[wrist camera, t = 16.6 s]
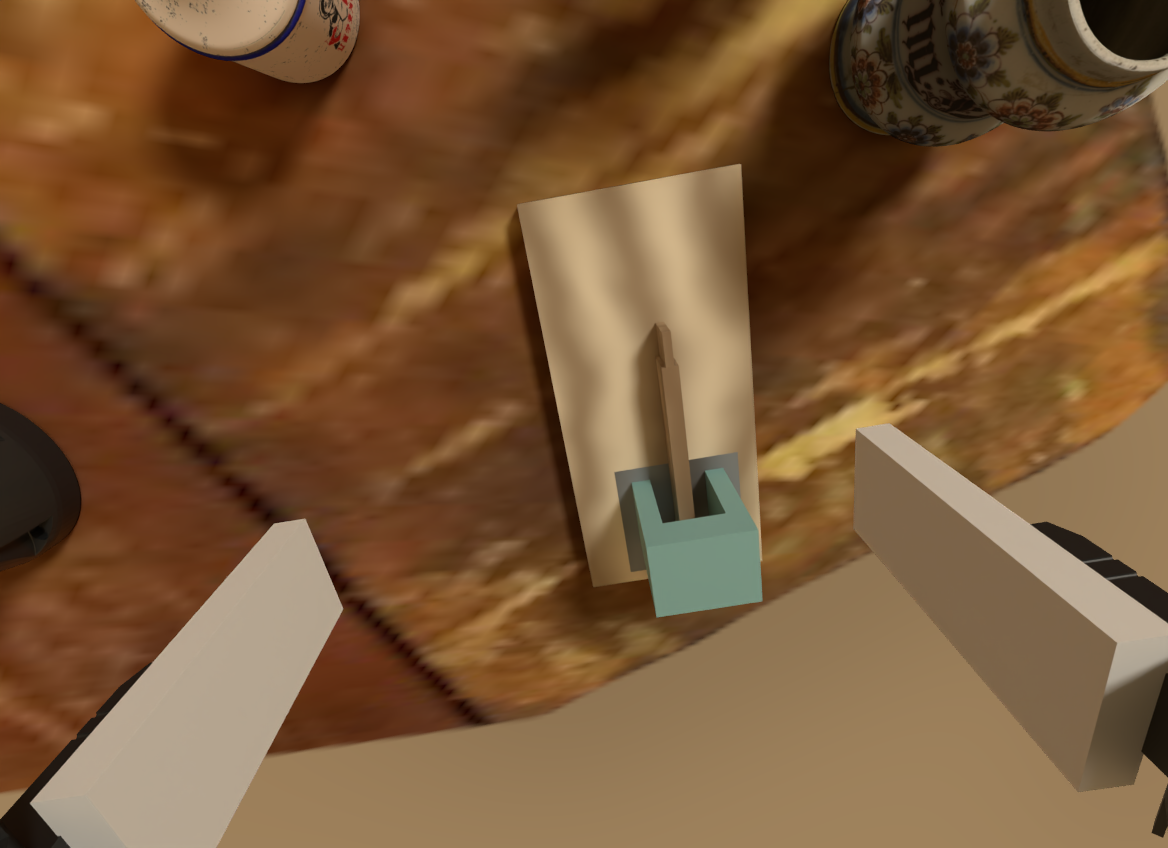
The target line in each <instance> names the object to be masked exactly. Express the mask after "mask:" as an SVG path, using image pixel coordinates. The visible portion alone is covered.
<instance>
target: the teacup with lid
mask: <svg viewBox="0 0 1168 848" xmlns="http://www.w3.org/2000/svg"><path fill="white" fill-rule="evenodd" d="M135 1H136V3H137V4H138V5H139V6H140V8H141V9H142V10H143V11H144V12H145V13H146V15H147V16H148V17H149V18H150V19H151V20H152V21H153V22H154V23H155V24H156V25H157V26H158V27H159V28H160V29H161V30H162V31H163V32H164V33H166V34H167V35H168V36H169V37H171V38H172V39H173V40H175V41H176V42H178V43H179V44H181V45H183V46H184V47H186V48H188V49H190V50H192V51H194V52H196V53H198V54H201V55H204V56H207V57H210V58H214V59H218V60H225V61H233V62H236V63H238V64H241V65H243V66H246V67H248V68H251V69H254V70H256V71H259V72H261V73H264V74H266V75H269V76H272V77H274V78H277V79H280V80H283V81H287V82H293V83H310V82H315V81H318V80H321V79H324V78H326V77H328V76H330V75H331V74H333V73H334V72H335V71H337V70H338V69H339V68H340V67H341V66H342V65H343V64H344V62H345V61H346V60H347V58H348V57H349V55H350V53H351V51H352V49H353V47H354V44H355V42H356V38H357V34H358V29H359V19H360V11H359V0H135Z"/></svg>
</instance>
